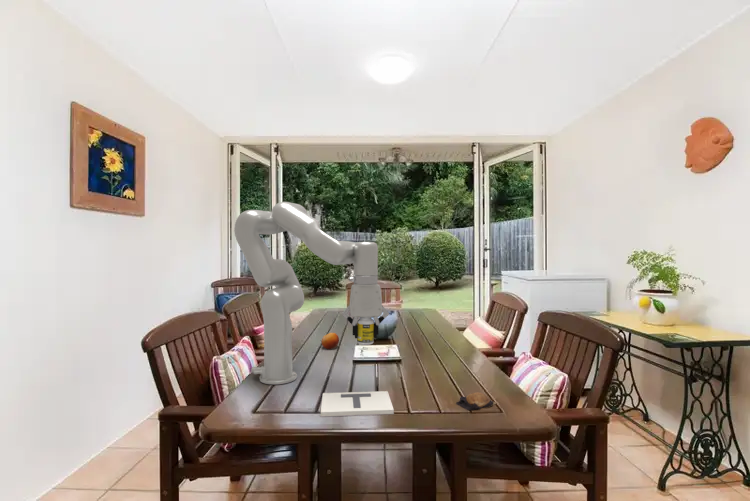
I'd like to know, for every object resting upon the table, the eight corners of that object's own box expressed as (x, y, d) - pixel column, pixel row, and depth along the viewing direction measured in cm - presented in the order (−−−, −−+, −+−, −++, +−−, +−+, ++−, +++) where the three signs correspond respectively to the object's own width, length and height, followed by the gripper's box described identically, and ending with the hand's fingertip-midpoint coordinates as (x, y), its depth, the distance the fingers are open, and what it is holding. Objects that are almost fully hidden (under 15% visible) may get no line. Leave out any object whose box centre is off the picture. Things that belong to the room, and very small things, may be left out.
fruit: (342, 347, 177) (333, 331, 177) (327, 356, 177) (317, 340, 177) (344, 342, 185) (335, 327, 185) (329, 351, 185) (320, 336, 185)
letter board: (320, 416, 109) (320, 411, 109) (322, 397, 123) (322, 392, 123) (393, 414, 111) (393, 408, 111) (387, 394, 125) (387, 390, 125)
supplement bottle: (361, 346, 125) (361, 314, 124) (354, 342, 129) (354, 311, 129) (376, 343, 127) (377, 313, 127) (368, 340, 132) (369, 310, 132)
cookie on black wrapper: (476, 397, 125) (476, 385, 125) (499, 406, 118) (499, 393, 118) (452, 405, 119) (452, 392, 119) (474, 414, 112) (474, 401, 112)
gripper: (339, 281, 123) (338, 340, 124) (394, 281, 125) (393, 339, 125) (338, 279, 131) (338, 335, 131) (390, 279, 133) (390, 334, 133)
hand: (365, 336), depth 128 cm, fingers closed on supplement bottle, 5 cm apart
